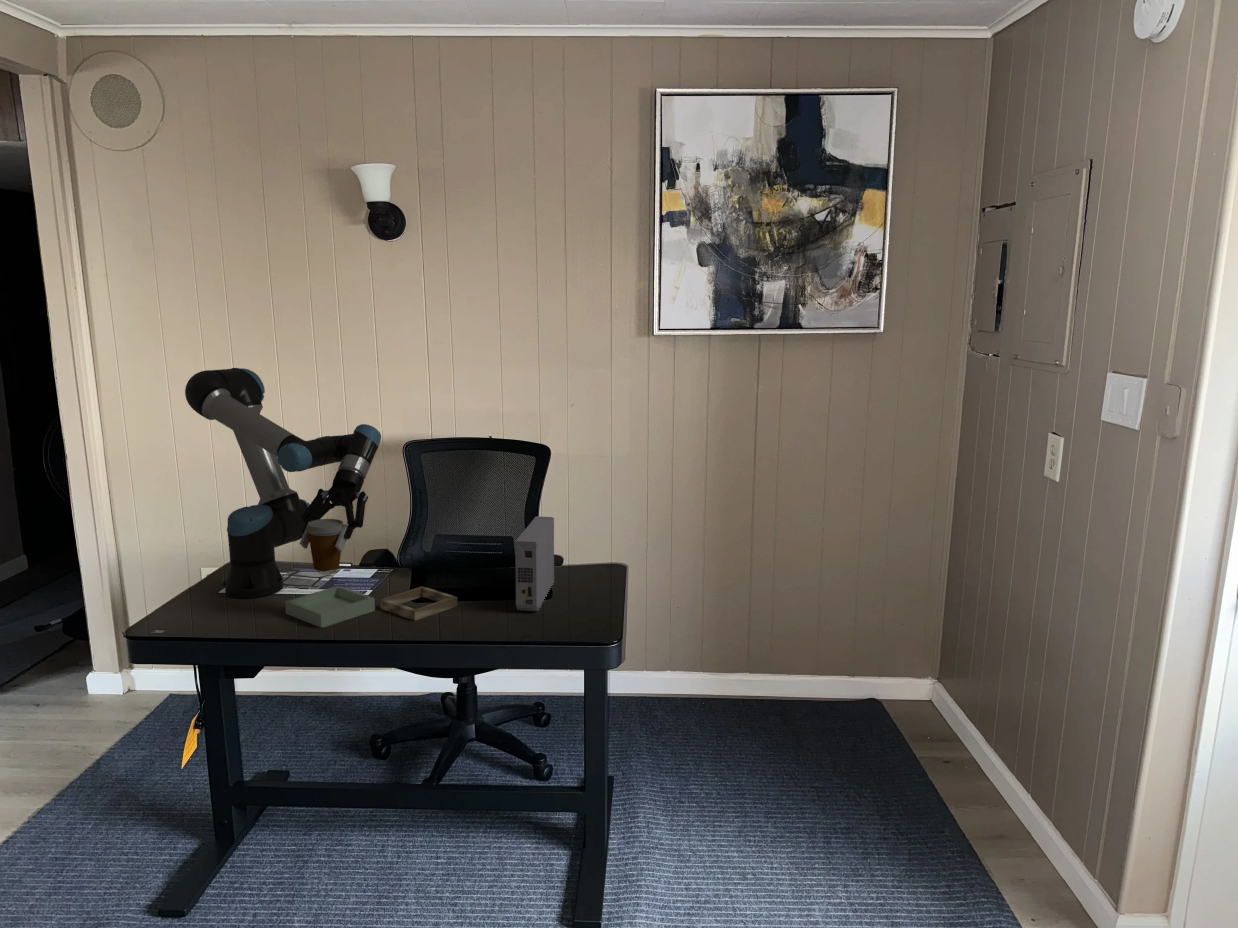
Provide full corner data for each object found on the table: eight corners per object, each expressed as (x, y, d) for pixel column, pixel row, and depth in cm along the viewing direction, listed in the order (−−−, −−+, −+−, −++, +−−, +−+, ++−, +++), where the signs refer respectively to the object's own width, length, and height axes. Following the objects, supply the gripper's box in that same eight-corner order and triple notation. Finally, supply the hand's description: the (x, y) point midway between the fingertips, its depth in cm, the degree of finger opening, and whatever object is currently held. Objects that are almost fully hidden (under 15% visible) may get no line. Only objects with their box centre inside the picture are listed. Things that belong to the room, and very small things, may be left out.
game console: (555, 582, 246) (555, 516, 243) (537, 614, 219) (537, 541, 216) (536, 581, 247) (535, 516, 243) (516, 613, 220) (515, 541, 216)
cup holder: (380, 608, 222) (379, 599, 222) (422, 594, 234) (422, 586, 233) (415, 620, 214) (414, 611, 213) (457, 605, 225) (457, 596, 225)
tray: (286, 613, 218) (285, 600, 217) (339, 597, 230) (338, 585, 230) (321, 627, 208) (320, 614, 208) (374, 610, 221) (374, 597, 220)
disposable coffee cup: (331, 559, 223) (330, 516, 221) (353, 567, 218) (352, 523, 216) (299, 567, 216) (298, 523, 213) (321, 576, 210) (320, 530, 208)
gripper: (393, 485, 226) (365, 557, 214) (320, 480, 231) (289, 551, 219) (382, 469, 220) (353, 543, 208) (308, 465, 225) (275, 537, 213)
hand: (320, 547), depth 213 cm, fingers closed on disposable coffee cup, 9 cm apart
